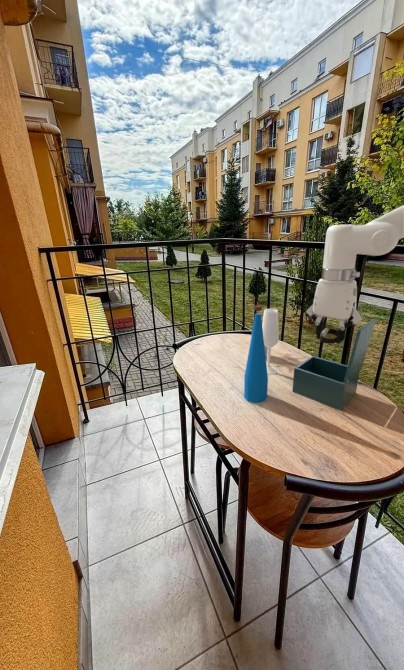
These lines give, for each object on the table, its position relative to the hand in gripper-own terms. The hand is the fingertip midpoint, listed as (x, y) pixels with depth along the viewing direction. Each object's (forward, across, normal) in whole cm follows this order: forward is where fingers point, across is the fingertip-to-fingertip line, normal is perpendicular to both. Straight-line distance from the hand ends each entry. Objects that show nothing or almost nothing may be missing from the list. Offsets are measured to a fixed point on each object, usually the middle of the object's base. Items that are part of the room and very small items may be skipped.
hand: (329, 339), depth 80 cm
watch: (+1, 0, 0) cm, 1 cm away
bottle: (+21, +17, +11) cm, 29 cm away
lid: (+4, -6, -6) cm, 9 cm away
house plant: (+21, +33, -18) cm, 43 cm away
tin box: (+21, +2, -6) cm, 22 cm away
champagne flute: (+21, +24, -7) cm, 33 cm away
